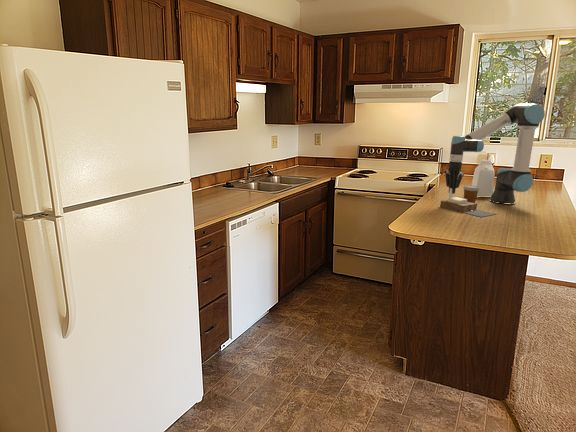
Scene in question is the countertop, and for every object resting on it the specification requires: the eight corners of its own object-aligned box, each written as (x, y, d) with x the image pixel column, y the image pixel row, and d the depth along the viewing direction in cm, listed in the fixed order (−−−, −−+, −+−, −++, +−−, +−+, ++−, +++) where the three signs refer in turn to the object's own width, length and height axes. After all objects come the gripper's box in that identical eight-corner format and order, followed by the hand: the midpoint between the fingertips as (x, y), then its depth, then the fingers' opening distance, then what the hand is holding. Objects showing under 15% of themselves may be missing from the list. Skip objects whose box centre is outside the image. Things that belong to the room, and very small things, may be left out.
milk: (486, 194, 314) (491, 159, 308) (492, 198, 303) (497, 161, 296) (469, 194, 315) (474, 158, 309) (474, 197, 304) (479, 160, 298)
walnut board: (454, 204, 278) (454, 198, 277) (476, 210, 265) (477, 203, 264) (440, 206, 270) (440, 200, 269) (462, 212, 257) (462, 205, 256)
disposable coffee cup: (463, 202, 286) (465, 184, 283) (478, 204, 281) (480, 186, 278) (459, 204, 278) (462, 186, 275) (475, 206, 273) (477, 188, 270)
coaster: (455, 200, 273) (456, 197, 272) (466, 202, 266) (467, 199, 266) (447, 201, 268) (448, 198, 268) (458, 203, 262) (459, 200, 261)
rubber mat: (478, 210, 264) (478, 209, 264) (496, 214, 254) (496, 213, 254) (463, 212, 256) (463, 212, 256) (481, 217, 246) (481, 216, 246)
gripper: (443, 160, 268) (438, 196, 274) (460, 162, 258) (456, 200, 264) (450, 159, 272) (446, 195, 278) (468, 162, 262) (463, 199, 268)
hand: (451, 198), depth 271 cm, fingers closed
